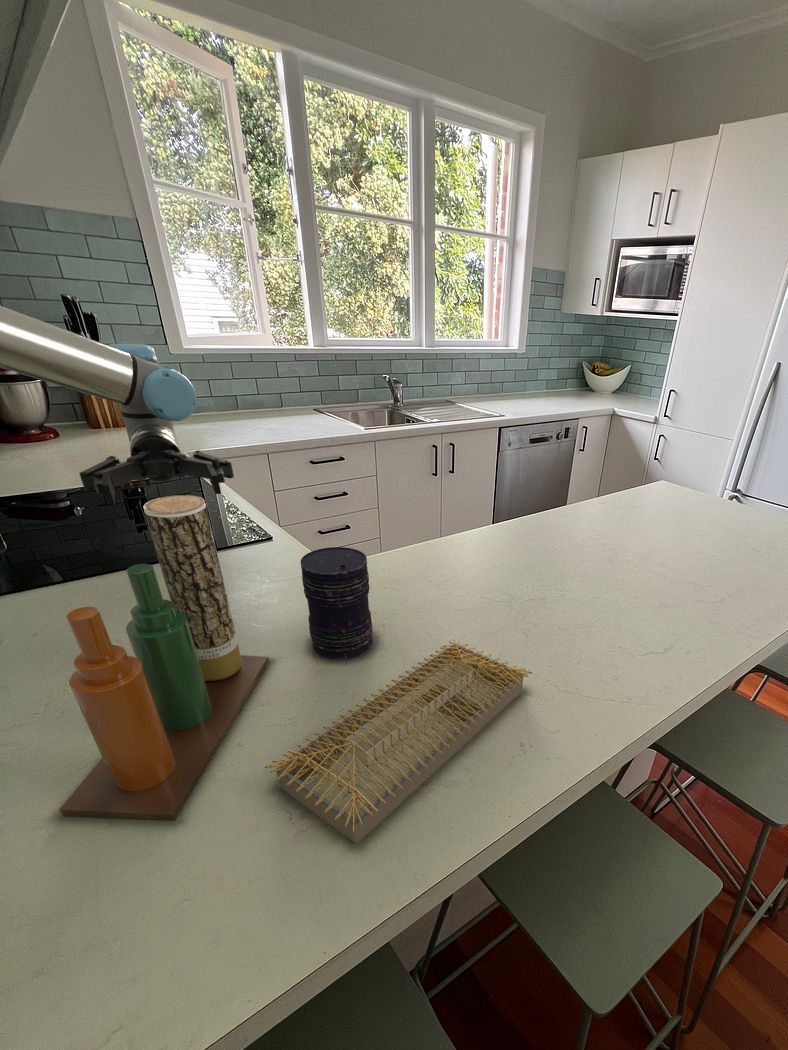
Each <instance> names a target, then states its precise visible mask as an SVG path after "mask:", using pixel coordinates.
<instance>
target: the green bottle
mask: <svg viewBox="0 0 788 1050" xmlns="http://www.w3.org/2000/svg"><path fill="white" fill-rule="evenodd" d="M126 575H127V578H128V581H129V583H130V586H131V590H132V592H133V595H134V599H135V602H136V605H134V606H133V607H132V608H131V609H130V615H131V618H132V619H131V620H130V621H129V622H128V623H127V624H126V626H125V632H126V636H127V638H128V640H129V643H130V645H131V648H132V651H133V654H134V657H135V658H137V659H139V660H140V661H141V663H142V665H143V668H144V671H145V674H146V676H147V679H148V682H149V685H150V688H151V691H152V693H153V696H154V699H155V702H156V705H157V708H158V710H159V713H160V716H161V719H162V722H163V725H164V727H165V729H168V730H185V729H189V728H192V727H195V726H197V725H199V724H201V723H202V722H204V721H205V720H206V719H208V717H209V716H210V715H211V713H212V710H213V707H212V704H211V700H210V696H209V693H208V689H207V686H206V682H205V679H204V675H203V672H202V668H201V665H200V661H199V658H198V654H197V650H196V647H195V643H194V640H193V636H192V633H191V629H190V626H189V622H188V619H187V616H186V615H185V614H184V613H183V612H180V611H177V610H175V608H174V604H173V603H172V602H171V600H170V599H165V598H163V594H162V591H161V588H160V584H159V582H158V578H157V575H156V572H155V569H154V566H153V565H152V564H149V563H139V564H135V565H131V566H129V567H128V568H127V569H126Z"/></svg>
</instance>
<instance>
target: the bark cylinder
mask: <svg viewBox="0 0 788 1050" xmlns="http://www.w3.org/2000/svg"><path fill="white" fill-rule="evenodd" d="M142 508H143V512H144V516H145V519H146V523H147V526H148V529H149V532H150V536H151V539H152V540H151V541H152V544H153V546H154V549H155V553H156V557H157V559H158V560H157V561H158V563H159V566H160V570H161V573H162V577H163V581H164V583H165V586H166V590H167V593H168V597H169V601H171V602H172V603H173V604H174V608H175V610H177V611H180V612H183V613H184V614H185V615H186V616H187V619H188V622H189V626H190V629H191V633H192V636H193V640H194V643H195V647H196V650H197V654H198V658H199V661H200V665H201V668H202V672H203V675H204V679H205V681H218V680H222V679H226V678H228V677H230V676H232V675H234V674H235V673H236V672H237V671H238V670H239V669H240V667H241V665H242V659H241V651H240V646H239V642H238V636H237V633H236V629H235V624H234V620H233V615H232V611H231V606H230V602H229V598H228V594H227V590H226V586H225V580H224V577H223V572H222V568H221V564H220V560H219V555H218V550H217V546H216V543H215V537H214V533H213V529H212V526H211V521H210V517H209V512H208V507H207V503H206V500H205V499H204V498H203V497H201V496H196V495H190V494H189V495H188V494H180V495H177V494H176V495H167V496H162V497H157V498H154V499H151V500H148V501H147V502H146V503H144V505H143V507H142Z"/></svg>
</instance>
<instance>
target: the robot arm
mask: <svg viewBox="0 0 788 1050" xmlns="http://www.w3.org/2000/svg"><path fill="white" fill-rule="evenodd" d="M155 352H156V351H155V350H154V348H153V347H152V346H151V345H149V344H144V343H130V342H129V343H127V342H126V343H111V344H104V343H101V342H99V341H97V340H93V339H91V338H89V337H85V336H83V335H80V334H78V333H75V332H72V331H70V330H67V329H65V328H61V327H59V326H57V325H53V324H50V323H49V322H46V321H43V320H40V319H38V318H35V317H32V316H29V315H27V314H25V313H22V312H18V311H16V310H13V309H11V308H8V307H6V306H3V305H0V369H4V370H7V371H11V372H13V373H18V374H20V375H24V376H27V377H30V378H34V379H37V380H40V381H44V382H46V383H50V384H53V385H57V386H60V387H63V388H66V389H69V390H73V391H76V392H79V393H82V394H86V395H89V396H93V397H96V398H99V399H103V400H104V401H105V400H106V401H109V402H112V403H115V404H118V405H119V408H120V411H121V416H122V420H123V423H124V427H125V430H126V433H127V437H128V441H129V452H130V457H127V459H126V460H120V459H119V458H117V456H114V455H109V456H107V457H106V459H104V460H103V461H100V462H99V463H97V464H95V465H92V466H90V467H88V468H86V469H84V470H82V471H80V472H79V473H78V474H79V477H80V480H81V483H82V486H83V489H84V491H85V492H92V491H94V490H96V493H97V495H100V496H101V497H105V499H106V502H107V505H108V506H114V505H116V502H115V501H116V490H115V488H117V487H119V486H123V485H125V484H127V483H131V482H132V481H139V482H142V481H145V480H147V479H148V480H150V481H153V482H159V483H160V482H161V483H163V482H169V481H171V480H174V479H176V477H179V478H186V477H190V476H191V477H196V478H201V479H207V480H209V482H210V485H211V487H212V489H213V492H214V494H215V495H221V494H222V491H221V486H220V484H223V483H225V482H226V480H225V479H233V478H234V477H235V475H234V469H233V464H232V461H231V460H229V459H224V458H222V457H218V456H215V455H211V454H208V453H205V452H204V451H203V450H199V449H198V450H195V451H194V452H193V453H192V456H191V455H189V456H187V455H186V454H185V453H182V450H181V447H180V446H179V442H178V440H177V439H178V438H177V436H176V432H175V428H174V423H173V422H180V421H181V422H182V421H184V420H186V419H188V418H189V417H191V416H192V415H193V413H194V411H195V409H196V407H197V405H198V404H197V402H198V401H197V399H198V398H197V393H196V389H195V387H194V386H193V384H192V383H191V381H190V380H189V379H188V378H187V377H186V376H185V375H183V374H182V373H180V371H178V370H176V369H174V368H172V367H168V366H163V365H161V364H160V362H159V360H158V358H157V355H156V353H155Z"/></svg>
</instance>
